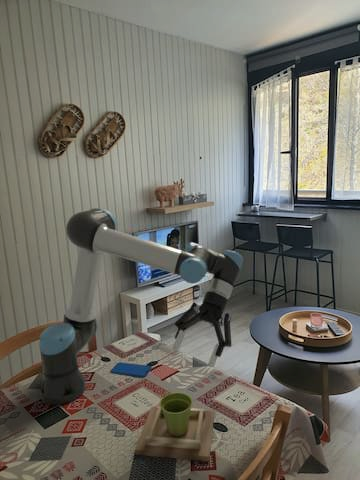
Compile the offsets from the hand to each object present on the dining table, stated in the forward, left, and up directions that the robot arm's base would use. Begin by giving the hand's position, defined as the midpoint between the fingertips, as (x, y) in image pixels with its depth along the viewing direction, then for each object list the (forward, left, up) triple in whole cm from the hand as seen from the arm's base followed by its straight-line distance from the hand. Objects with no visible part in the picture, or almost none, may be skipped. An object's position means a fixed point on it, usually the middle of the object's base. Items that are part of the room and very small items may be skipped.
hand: (192, 357), depth 110 cm
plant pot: (-3, -11, -17) cm, 20 cm away
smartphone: (-28, +21, -19) cm, 39 cm away
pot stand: (-3, -11, -18) cm, 21 cm away
